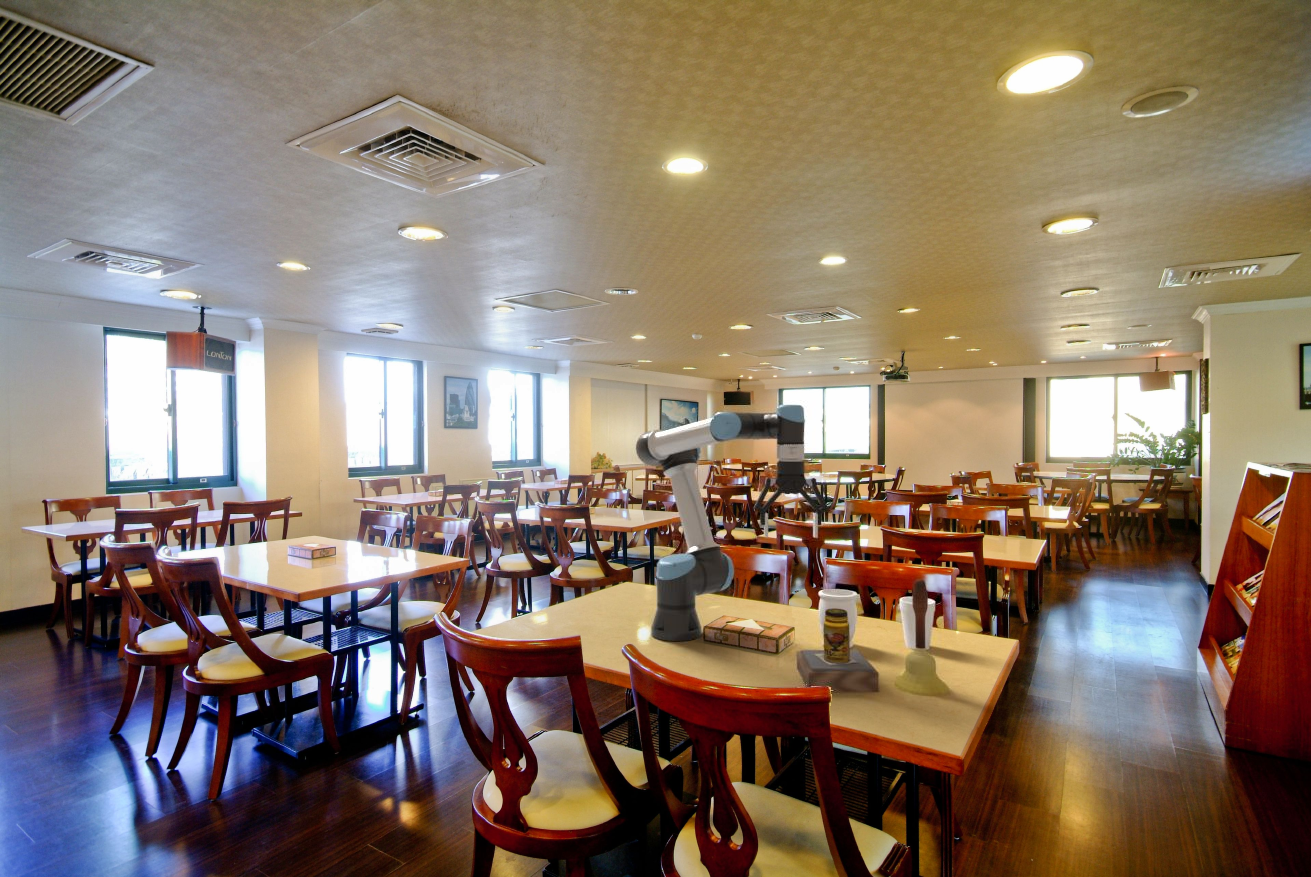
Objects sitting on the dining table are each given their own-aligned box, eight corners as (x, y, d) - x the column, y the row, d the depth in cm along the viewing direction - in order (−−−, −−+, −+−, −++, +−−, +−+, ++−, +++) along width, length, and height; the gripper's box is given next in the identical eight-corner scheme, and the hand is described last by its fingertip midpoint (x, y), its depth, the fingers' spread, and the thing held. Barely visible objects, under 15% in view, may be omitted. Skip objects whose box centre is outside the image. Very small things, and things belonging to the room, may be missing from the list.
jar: (853, 640, 196) (853, 588, 196) (860, 651, 186) (860, 596, 186) (816, 639, 197) (816, 588, 197) (821, 650, 187) (821, 596, 187)
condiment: (830, 665, 159) (830, 614, 159) (813, 654, 167) (813, 606, 167) (858, 663, 161) (857, 612, 161) (840, 652, 169) (840, 604, 169)
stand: (808, 691, 156) (808, 669, 156) (796, 668, 172) (796, 648, 172) (878, 691, 156) (878, 670, 156) (860, 668, 172) (860, 648, 172)
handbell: (950, 698, 151) (950, 587, 151) (892, 692, 155) (891, 583, 156) (947, 680, 163) (946, 577, 163) (893, 674, 167) (892, 573, 167)
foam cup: (925, 653, 183) (924, 606, 183) (893, 646, 190) (893, 600, 190) (941, 646, 189) (941, 600, 189) (910, 639, 196) (910, 595, 196)
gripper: (746, 460, 184) (746, 538, 184) (839, 460, 183) (839, 539, 183) (744, 460, 191) (744, 534, 191) (833, 460, 190) (833, 535, 190)
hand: (790, 537), depth 187 cm, fingers open, 13 cm apart
